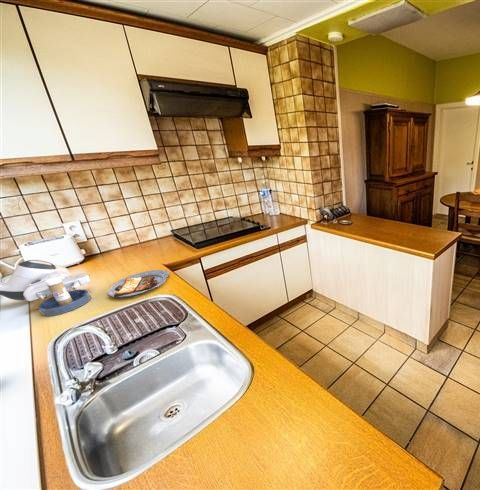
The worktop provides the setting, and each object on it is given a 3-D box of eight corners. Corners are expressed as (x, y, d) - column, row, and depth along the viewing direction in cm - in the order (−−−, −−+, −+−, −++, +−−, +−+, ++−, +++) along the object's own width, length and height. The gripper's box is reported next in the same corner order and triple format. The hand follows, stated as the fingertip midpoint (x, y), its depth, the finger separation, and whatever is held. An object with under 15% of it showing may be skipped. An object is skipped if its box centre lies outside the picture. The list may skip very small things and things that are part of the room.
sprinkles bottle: (58, 308, 117) (41, 283, 112) (63, 303, 121) (47, 278, 116) (72, 305, 119) (56, 280, 114) (76, 300, 123) (61, 275, 118)
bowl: (42, 321, 110) (37, 314, 109) (42, 307, 120) (38, 300, 118) (93, 303, 121) (89, 297, 119) (89, 291, 130) (86, 285, 129)
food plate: (161, 293, 126) (158, 287, 125) (99, 306, 119) (96, 299, 117) (174, 270, 148) (172, 264, 146) (123, 279, 140) (120, 274, 139)
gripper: (91, 278, 134) (94, 287, 125) (29, 297, 120) (28, 309, 111) (85, 267, 131) (88, 276, 123) (22, 285, 117) (20, 296, 109)
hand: (59, 292), depth 117 cm, fingers open, 8 cm apart
